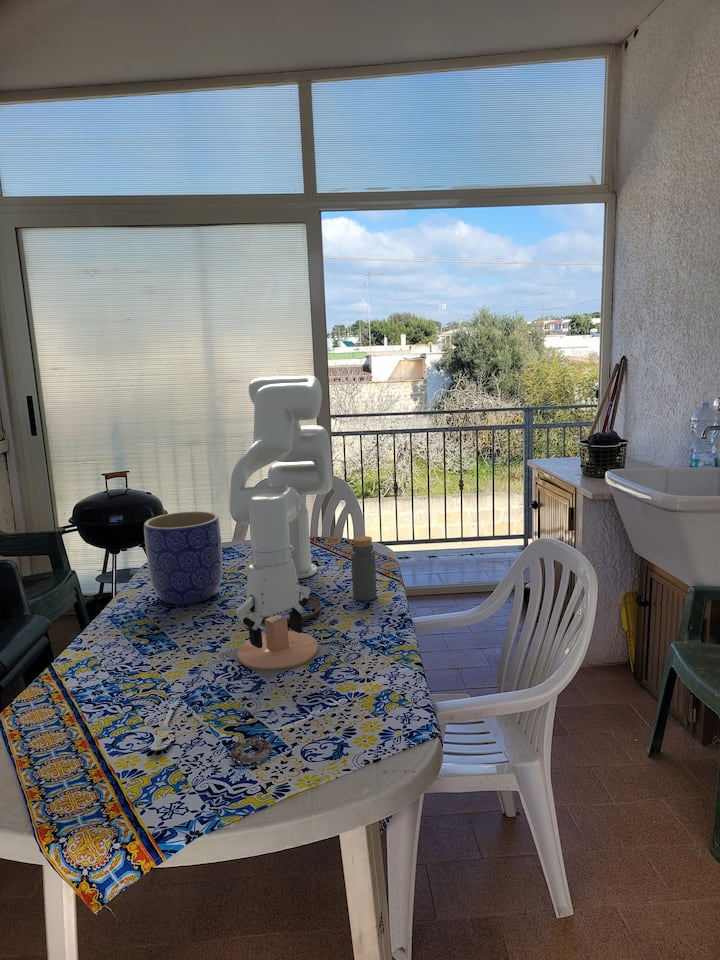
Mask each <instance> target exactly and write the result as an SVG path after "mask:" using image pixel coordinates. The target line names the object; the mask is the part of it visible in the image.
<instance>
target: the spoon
mask: <svg viewBox="0 0 720 960" xmlns="http://www.w3.org/2000/svg"><path fill="white" fill-rule="evenodd" d="M172 713H173V712H172V711H169V712H168V713H167V712H166V716H165V719H164V721H163V723H162V724H161V725H160V726H159V727H158V729H157V730H156V731H173V730H172V728H170V726H169V721H170V719H171V717H172V715H173V714H174V713H173V714H172ZM167 746H168V745H167ZM167 746H165V747H162V748H150V749H151V750H150V749H149V750H150V751H155V752H156V751H161V750H164V749H166V747H167ZM168 747H169V746H168ZM168 747H167V748H168Z"/></svg>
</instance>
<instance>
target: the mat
mask: <svg viewBox="0 0 720 960" xmlns="http://www.w3.org/2000/svg"><path fill="white" fill-rule="evenodd" d="M288 631H291V629H290V630H289V629H288ZM317 644H318V651H317V653H316V655H315V656H314V657H313V658H312V659H310V660H309V661H307V662H305V663H303V664H301V665H304V664H306V663H309V662H311V661H314V660H316V659H318V658H320V657H323V656H325V655H327V654H330V653H332V652H335V650H333V649H331V648H329V647H327V646H325V645H322V644H321V643H318V642H317ZM239 647H240V646H237V647H235V648H232V649H230V650H227V651H224V652H222V654H223V655H225V656H226V657H229V658H231V659H232V660H234V661H235V662H237V663H239V664H241V665H242V666H244V667H246V668H248V669H250V670H251V671H253V672H255V673H257V674H258V675H259V676H262V677H264V678H265V679H267V680H269V679H272V678H273V677H275V676H279V675H281V674H283V673H285V672H287V671H289V670H293V669H295V668H297V667H300V666H301V665H298V666H295V667H291V668H287V669H280V670H259V669H253V668H250V667H247V666H245V665H243V664H242V663H241V662H240V661H239V659H238V648H239Z"/></svg>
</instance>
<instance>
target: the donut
mask: <svg viewBox="0 0 720 960" xmlns="http://www.w3.org/2000/svg"><path fill="white" fill-rule="evenodd" d="M249 746H259V747H260V748H261V750H259V749H258V751H255V752H254V753H253V754H252V753H247V752H246V751H245V750H244V749H245V748H247V747H249ZM231 748H232V749H231V751H230V756H232V758H233V759H235V760H236V761H240V762H245V763H254V762H258V761H262V760H264V759H266V758H267V757H268V755H269V754H270V753H271V754H272V751H271V750H273V746H272V744H271V743H270V742H269V740H267V739H265V738H264V739H263V738H258V735H253V736H250V737H249V738H245V739H242V740H239V741H236V743H235V744H234V745H233V746H232V747H231ZM244 751H245V752H244ZM271 754H270V755H271ZM232 758H231V759H232ZM233 759H232V760H233Z"/></svg>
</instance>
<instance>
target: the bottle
mask: <svg viewBox="0 0 720 960" xmlns="http://www.w3.org/2000/svg"><path fill="white" fill-rule="evenodd" d="M372 541H373V538H372V536H367V535H359V536H356V537H353V538H352V542H353V545H352V548H351V549H352V551H353V552H354V553H353V554H352V555H351V556H350V557H351V577H352V580H351V581H352V595H353V596H352V597H353V599H354V600H357V601H362V602H367V601H372V600H375V599H376V598H377V596H378V595H377V575H376V574H377V570H376V569H377V568H376V556H375V553H373V552H372V551H373V550H374V545H373V543H372Z"/></svg>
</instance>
